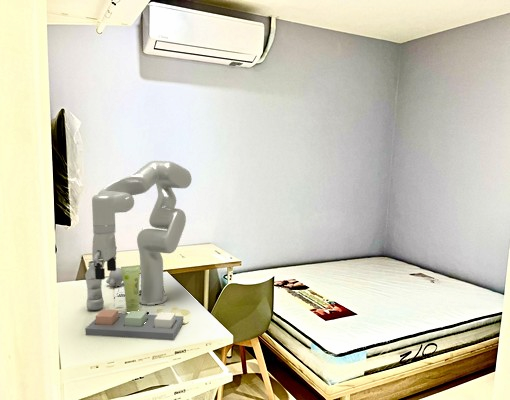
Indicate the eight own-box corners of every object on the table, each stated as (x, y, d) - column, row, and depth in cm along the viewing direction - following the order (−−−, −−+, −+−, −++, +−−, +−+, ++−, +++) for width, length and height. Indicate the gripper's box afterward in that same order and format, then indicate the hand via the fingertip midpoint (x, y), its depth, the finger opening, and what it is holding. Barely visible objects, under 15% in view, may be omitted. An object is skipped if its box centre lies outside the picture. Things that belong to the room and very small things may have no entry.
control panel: (103, 318, 161) (102, 312, 160) (183, 322, 158) (183, 316, 158) (85, 335, 147) (85, 328, 147) (173, 340, 144) (173, 333, 144)
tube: (131, 316, 163) (130, 268, 160) (122, 313, 166) (120, 266, 163) (142, 311, 168) (140, 264, 165) (133, 308, 170) (131, 262, 168)
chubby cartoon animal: (132, 290, 197) (138, 273, 198) (108, 286, 190) (115, 268, 190) (127, 286, 203) (133, 269, 203) (103, 281, 196) (110, 264, 196)
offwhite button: (159, 321, 155) (159, 312, 154) (175, 321, 154) (175, 313, 154) (154, 328, 149) (154, 319, 148) (170, 329, 148) (170, 320, 148)
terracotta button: (103, 318, 156) (102, 309, 156) (118, 318, 156) (118, 310, 155) (95, 325, 150) (95, 316, 150) (111, 325, 150) (111, 316, 149)
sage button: (131, 319, 155) (131, 310, 155) (146, 320, 155) (146, 311, 154) (125, 326, 150) (124, 317, 149) (141, 327, 149) (140, 318, 149)
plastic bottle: (98, 313, 165) (96, 265, 162) (83, 311, 167) (81, 263, 164) (107, 306, 172) (105, 260, 169) (92, 305, 173) (90, 259, 170)
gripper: (104, 223, 157) (106, 267, 159) (82, 233, 140) (84, 282, 142) (123, 224, 156) (125, 267, 159) (103, 234, 139) (105, 283, 142)
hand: (106, 274), depth 150 cm, fingers open, 9 cm apart
